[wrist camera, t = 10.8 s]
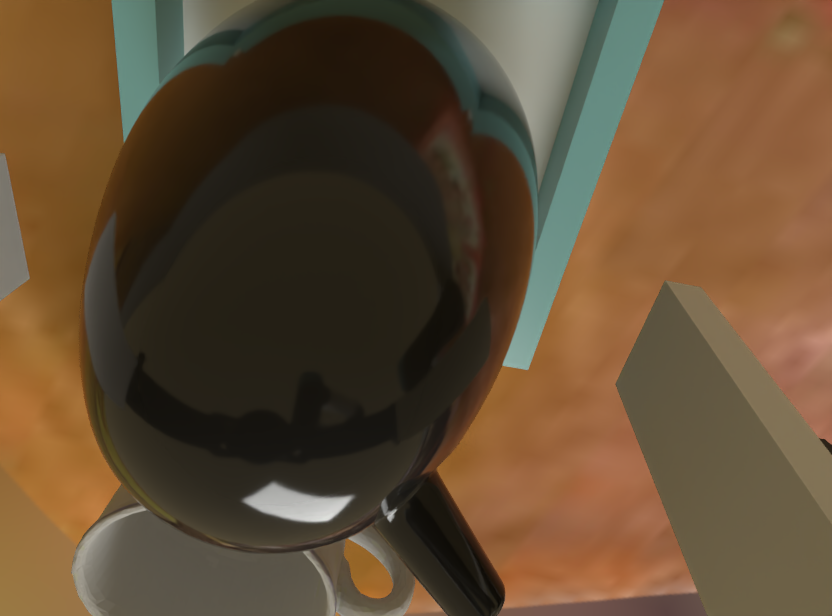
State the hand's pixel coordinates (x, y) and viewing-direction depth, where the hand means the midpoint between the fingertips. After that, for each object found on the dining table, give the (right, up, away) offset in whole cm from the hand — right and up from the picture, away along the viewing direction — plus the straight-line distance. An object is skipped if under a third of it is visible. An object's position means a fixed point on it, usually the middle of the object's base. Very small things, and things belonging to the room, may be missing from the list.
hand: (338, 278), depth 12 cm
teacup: (-5, -9, +18) cm, 21 cm away
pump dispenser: (0, +5, +8) cm, 10 cm away
